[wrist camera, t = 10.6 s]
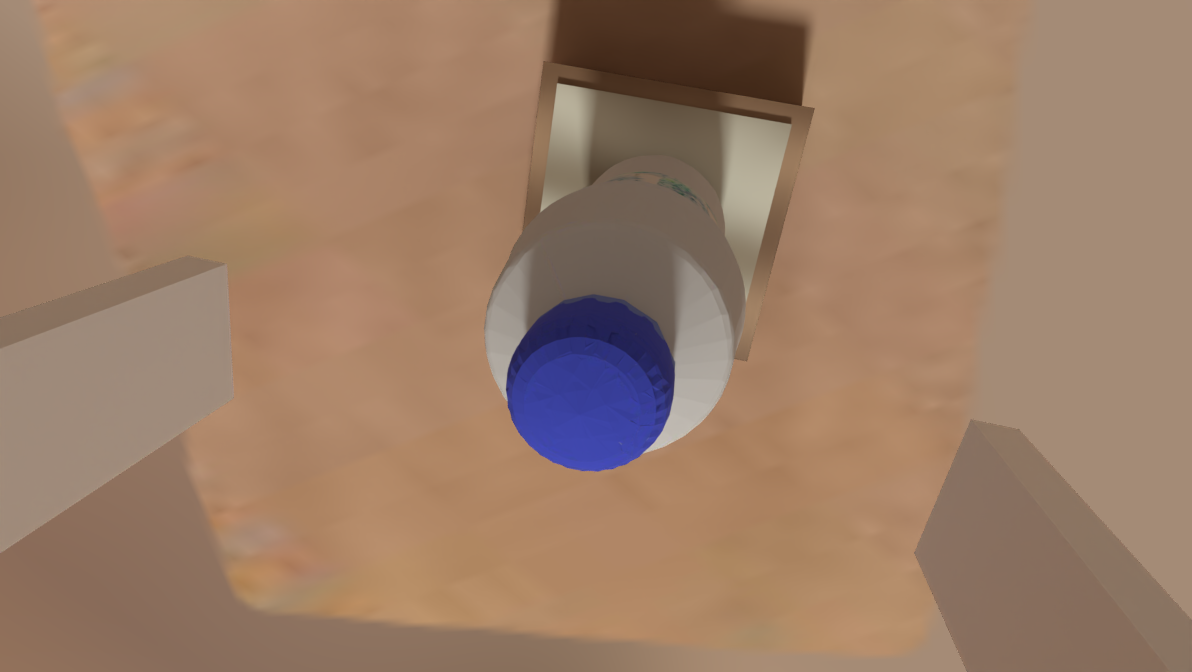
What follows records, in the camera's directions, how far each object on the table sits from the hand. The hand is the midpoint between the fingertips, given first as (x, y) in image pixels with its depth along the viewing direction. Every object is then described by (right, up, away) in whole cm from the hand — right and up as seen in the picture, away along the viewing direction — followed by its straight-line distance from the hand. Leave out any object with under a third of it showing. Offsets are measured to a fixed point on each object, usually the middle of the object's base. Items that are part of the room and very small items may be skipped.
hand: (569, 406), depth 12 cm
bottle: (+3, +7, +19) cm, 21 cm away
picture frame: (+4, +8, +23) cm, 25 cm away
